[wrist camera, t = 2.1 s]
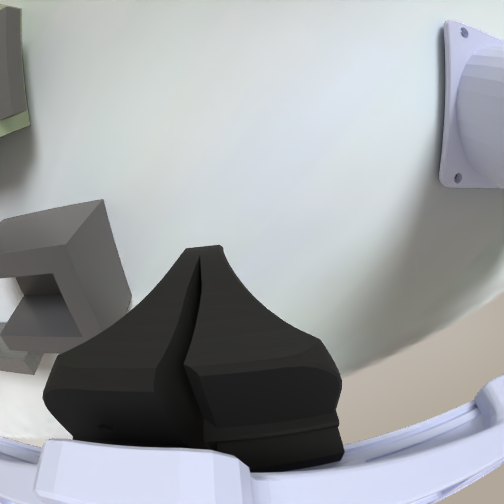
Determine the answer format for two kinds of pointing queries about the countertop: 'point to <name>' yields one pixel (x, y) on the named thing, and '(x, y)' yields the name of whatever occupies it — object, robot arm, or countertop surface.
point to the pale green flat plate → (11, 73)
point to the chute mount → (18, 358)
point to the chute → (62, 277)
